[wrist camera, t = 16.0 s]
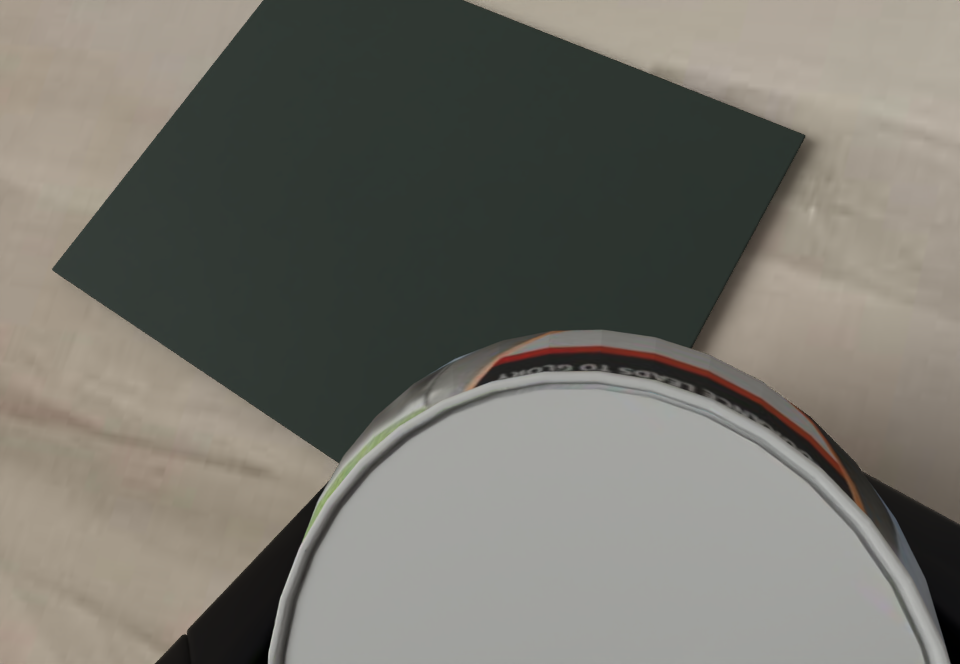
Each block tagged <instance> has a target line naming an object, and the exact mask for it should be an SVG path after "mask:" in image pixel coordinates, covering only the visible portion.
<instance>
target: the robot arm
mask: <svg viewBox="0 0 960 664" xmlns="http://www.w3.org/2000/svg"><path fill="white" fill-rule="evenodd" d="M863 474H864V475H865V476H866V478H867V479H868V481H869V482H870V483H871V485H872V486H873V488H874V489H875V490H876V492H877V493H878V494H879V496H880V497H881V499H882V500H883V501H884V503H885V504H886V506H887V507H888V508H889V510H890V511H891V513H892V514H893V515H894V517H895V518H896V520H897V522H898V524H899V526H900V528H901V530H902V532H903V534H904V536H905V538H906V541H907V543H908V545H909V547H910V549H911V551H912V553H913V555H914V557H915V559H916V561H917V563H918V565H919V567H920V569H921V571H922V573H923V575H924V577H925V579H926V582H927V585H928V588H929V592H930V595H931V598H932V602H933V605H934V608H935V612H936V615H937V618H938V622H939V625H940V629H941V632H942V635H943V639H944V642H945V645H946V649H947V653H948V656H949V660H950V663H951V664H960V525H959V524H958V523H956V522H954V521H952V520H950V519H948V518H947V517H945V516H943V515H941V514H939V513H937V512H936V511H934V510H932V509H930V508H928V507H926V506H925V505H923V504H921V503H919V502H917V501H915V500H914V499H912V498H910V497H908V496H906V495H904V494H903V493H901V492H899V491H897V490H895V489H893V488H892V487H890V486H888V485H886V484H884V483H882V482H881V481H879V480H877V479H875V478H873V477H871V476H870V475H868V474H866V473H864V472H863ZM328 482H329V481H328ZM327 484H328V483H327ZM327 484H326V485H325V486H324V487H323V488H322V489H321V490H320V491H319V492H318V493H317V494H316V495H315V496H314V497H313V498H312V499H311V500H310V501H309V502H308V504H307V505H306V506H305V507H304V508H303V509H302V510H301V511H300V512H299V513H298V514H297V515H296V516H295V517H294V518H293V519H292V520H291V521H290V522H289V524H288V525H287V526H286V527H285V528H284V529H283V530H282V531H281V532H280V533H279V534H278V535H277V536H276V537H275V538H274V539H273V540H272V541H271V542H270V544H269V545H268V546H267V547H266V548H265V549H264V550H263V551H262V552H261V553H260V554H259V555H258V556H257V557H256V558H255V559H254V560H253V561H252V562H251V564H250V565H249V566H248V567H247V568H246V569H245V570H244V571H243V572H242V573H241V574H240V575H239V576H238V577H237V578H236V579H235V580H234V581H233V582H232V584H231V585H230V586H229V587H228V588H227V589H226V590H225V591H224V592H223V593H222V594H221V595H220V596H219V597H218V598H217V599H216V600H215V601H214V602H213V604H212V605H211V606H210V607H209V608H208V609H207V610H206V611H205V612H204V613H203V614H202V615H201V616H200V617H199V618H198V619H197V620H196V621H195V622H194V624H193V625H192V626H191V627H190V628H189V629H188V630H187V635H186V634H184V635H182V636H181V637H180V638H179V639H178V640H177V641H176V642H175V643H174V644H173V645H172V646H171V647H170V649H169V650H168V651H167V652H166V653H165V654H164V655H163V656H162V657H161V658H160V659H159V660H158V661H157V662H156V663H155V664H268V653H269V648H270V644H271V639H272V634H273V630H274V625H275V620H276V616H277V611H278V606H279V602H280V597H281V595H282V592H283V590H284V587H285V584H286V582H287V579H288V576H289V574H290V571H291V569H292V566H293V563H294V561H295V558H296V555H297V553H298V550H299V548H300V546H301V544H302V541H303V539H304V536H305V533H306V531H307V528H308V526H309V523H310V520H311V518H312V515H313V512H314V510H315V507H316V505H317V502H318V500H319V498H320V496H321V494H322V493H323V491H324V489H325V487H326V486H327Z"/></svg>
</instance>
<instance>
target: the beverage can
mask: <svg viewBox="0 0 960 664" xmlns="http://www.w3.org/2000/svg"><path fill="white" fill-rule="evenodd" d="M268 664H951V663H950V660H949V656H948V653H947V649H946V645H945V642H944V639H943V635H942V632H941V629H940V625H939V622H938V618H937V615H936V612H935V608H934V605H933V602H932V598H931V595H930V592H929V588H928V585H927V582H926V579H925V577H924V575H923V573H922V571H921V569H920V567H919V565H918V563H917V561H916V559H915V557H914V555H913V553H912V551H911V549H910V547H909V545H908V543H907V541H906V538H905V536H904V534H903V532H902V530H901V528H900V526H899V524H898V522H897V520H896V518H895V517H894V515H893V514H892V513H891V511H890V510H889V508H888V507H887V506H886V504H885V503H884V501H883V500H882V499H881V497H880V496H879V494H878V493H877V492H876V490H875V489H874V488H873V486H872V485H871V483H870V482H869V481H868V479H867V478H866V476H865V475H864V474H863V472H862V471H861V469H860V468H859V467H858V465H857V464H856V462H855V461H854V460H853V459H852V458H851V457H850V456H849V455H848V454H847V453H846V452H845V451H844V450H843V449H842V448H841V447H840V446H839V445H838V444H837V443H836V442H835V441H834V440H833V439H832V438H831V437H830V436H829V435H828V434H827V433H826V432H825V431H824V430H823V429H822V428H821V427H820V426H819V425H818V424H817V423H816V422H815V421H814V420H813V419H812V418H811V417H810V416H808V415H807V414H806V413H804V412H803V411H801V410H800V409H799V408H797V407H796V406H795V405H793V404H792V403H791V402H789V401H788V400H786V399H785V398H784V397H782V396H781V395H780V394H778V393H777V392H775V391H774V390H773V389H771V388H770V387H769V386H767V385H766V384H764V383H763V382H762V381H760V380H758V379H756V378H754V377H752V376H750V375H748V374H746V373H744V372H742V371H740V370H738V369H736V368H734V367H733V366H731V365H729V364H727V363H725V362H723V361H721V360H719V359H717V358H715V357H713V356H711V355H709V354H706V353H703V352H700V351H697V350H694V349H691V348H687V347H684V346H681V345H678V344H675V343H672V342H668V341H665V340H662V339H659V338H656V337H650V336H643V335H636V334H629V333H622V332H615V331H608V330H570V331H548V332H543V333H538V334H533V335H528V336H523V337H518V338H513V339H508V340H503V341H500V342H497V343H495V344H492V345H490V346H487V347H484V348H482V349H479V350H477V351H474V352H472V353H469V354H466V355H464V356H461V357H459V358H456V359H454V360H452V361H451V362H449V363H447V364H446V365H444V366H442V367H441V368H439V369H437V370H436V371H434V372H432V373H431V374H429V375H427V376H426V377H424V378H422V379H421V380H419V381H418V382H416V383H414V384H413V385H412V386H410V387H409V388H408V389H407V390H406V391H405V392H404V393H402V394H401V395H400V396H399V397H398V398H397V399H395V400H394V401H393V402H392V403H391V404H390V405H389V406H387V407H386V408H385V409H384V410H383V411H382V412H380V413H379V414H378V415H377V416H376V417H375V418H374V419H373V421H372V422H371V423H370V424H369V426H368V427H367V428H366V429H365V430H364V432H363V433H362V434H361V435H360V436H359V438H358V439H357V440H356V441H355V443H354V444H353V445H352V446H351V447H350V449H349V450H348V451H347V452H346V453H345V455H344V456H343V458H342V460H341V461H340V463H339V465H338V467H337V468H336V470H335V472H334V473H333V475H332V477H331V479H330V480H329V482H328V484H327V486H326V487H325V489H324V491H323V493H322V494H321V496H320V498H319V500H318V502H317V505H316V507H315V510H314V512H313V515H312V518H311V520H310V523H309V526H308V528H307V531H306V533H305V536H304V539H303V541H302V544H301V546H300V548H299V550H298V553H297V555H296V558H295V561H294V563H293V566H292V569H291V571H290V574H289V576H288V579H287V582H286V584H285V587H284V590H283V592H282V595H281V597H280V602H279V606H278V611H277V616H276V620H275V625H274V630H273V634H272V639H271V644H270V648H269V653H268Z"/></svg>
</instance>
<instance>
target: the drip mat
mask: <svg viewBox="0 0 960 664" xmlns="http://www.w3.org/2000/svg"><path fill="white" fill-rule="evenodd" d="M804 138H805V135H804V134H801V133H799V132H796V131H793V130H791V129H788V128H786V127H783V126H781V125H778V124H776V123H773V122H771V121H768V120H766V119H763V118H760V117H758V116H755V115H753V114H750V113H748V112H745V111H743V110H740V109H738V108H735V107H733V106H730V105H727V104H725V103H722V102H720V101H717V100H715V99H712V98H710V97H707V96H705V95H702V94H700V93H697V92H694V91H692V90H689V89H687V88H684V87H682V86H679V85H677V84H674V83H672V82H669V81H667V80H664V79H661V78H659V77H656V76H654V75H651V74H649V73H646V72H644V71H641V70H639V69H636V68H634V67H631V66H629V65H626V64H623V63H621V62H618V61H616V60H613V59H611V58H608V57H606V56H603V55H601V54H598V53H596V52H593V51H590V50H588V49H585V48H583V47H580V46H578V45H575V44H573V43H570V42H568V41H565V40H563V39H560V38H557V37H555V36H552V35H550V34H547V33H545V32H542V31H540V30H537V29H535V28H532V27H530V26H527V25H524V24H522V23H519V22H517V21H514V20H512V19H509V18H507V17H504V16H502V15H499V14H497V13H494V12H491V11H489V10H486V9H484V8H481V7H479V6H476V5H474V4H471V3H469V2H466V1H464V0H263V1H262V3H261V4H260V5H259V7H258V8H257V9H256V10H255V12H254V13H253V14H252V15H251V17H250V18H249V19H248V20H247V22H246V23H245V24H244V26H243V27H242V28H241V29H240V31H239V32H238V33H237V34H236V36H235V37H234V38H233V40H232V41H231V42H230V43H229V45H228V46H227V47H226V48H225V50H224V51H223V52H222V54H221V55H220V56H219V57H218V59H217V60H216V61H215V62H214V64H213V65H212V66H211V68H210V69H209V70H208V71H207V73H206V74H205V75H204V76H203V78H202V79H201V80H200V82H199V83H198V84H197V85H196V87H195V88H194V89H193V90H192V92H191V93H190V94H189V96H188V97H187V98H186V99H185V101H184V102H183V103H182V104H181V106H180V107H179V108H178V110H177V111H176V112H175V113H174V115H173V116H172V117H171V118H170V120H169V121H168V122H167V123H166V125H165V126H164V127H163V129H162V130H161V131H160V132H159V134H158V135H157V136H156V137H155V139H154V140H153V141H152V143H151V144H150V145H149V146H148V148H147V149H146V150H145V151H144V153H143V154H142V155H141V157H140V158H139V159H138V160H137V162H136V163H135V164H134V165H133V167H132V168H131V169H130V171H129V172H128V173H127V174H126V176H125V177H124V178H123V179H122V181H121V182H120V183H119V185H118V186H117V187H116V188H115V190H114V191H113V192H112V193H111V195H110V196H109V197H108V199H107V200H106V201H105V202H104V204H103V205H102V206H101V207H100V209H99V210H98V211H97V212H96V214H95V215H94V216H93V218H92V219H91V220H90V221H89V223H88V224H87V225H86V226H85V228H84V229H83V230H82V232H81V233H80V234H79V235H78V237H77V238H76V239H75V240H74V242H73V243H72V244H71V246H70V247H69V248H68V249H67V251H66V252H65V253H64V254H63V256H62V257H61V258H60V260H59V261H58V262H57V263H56V265H55V266H54V267H53V268H52V270H53V271H54V272H55V273H57V274H58V275H60V276H61V277H63V278H64V279H66V280H67V281H69V282H70V283H72V284H73V285H75V286H76V287H78V288H79V289H81V290H82V291H84V292H85V293H87V294H88V295H90V296H91V297H93V298H94V299H96V300H97V301H99V302H100V303H102V304H103V305H105V306H106V307H108V308H109V309H110V310H112V311H113V312H115V313H116V314H118V315H119V316H121V317H122V318H124V319H125V320H127V321H128V322H130V323H131V324H133V325H134V326H136V327H137V328H139V329H140V330H142V331H143V332H145V333H146V334H148V335H149V336H151V337H152V338H154V339H155V340H157V341H158V342H160V343H161V344H162V345H164V346H165V347H167V348H168V349H170V350H171V351H173V352H174V353H176V354H177V355H179V356H180V357H182V358H183V359H185V360H186V361H188V362H189V363H191V364H192V365H194V366H195V367H197V368H198V369H200V370H201V371H203V372H204V373H206V374H207V375H209V376H210V377H212V378H213V379H215V380H216V381H217V382H219V383H220V384H222V385H223V386H225V387H226V388H228V389H229V390H231V391H232V392H234V393H235V394H237V395H238V396H240V397H241V398H243V399H244V400H246V401H247V402H249V403H250V404H252V405H253V406H255V407H256V408H258V409H259V410H261V411H262V412H264V413H265V414H267V415H268V416H270V417H271V418H272V419H274V420H275V421H277V422H278V423H280V424H281V425H283V426H284V427H286V428H287V429H289V430H290V431H292V432H293V433H295V434H296V435H298V436H299V437H301V438H302V439H304V440H305V441H307V442H308V443H310V444H311V445H313V446H314V447H316V448H317V449H319V450H320V451H322V452H323V453H324V454H326V455H327V456H329V457H330V458H332V459H333V460H335V461H336V462H338V463H340V461H341V460H342V458H343V456H344V455H345V453H346V452H347V451H348V450H349V449H350V447H351V446H352V445H353V444H354V443H355V441H356V440H357V439H358V438H359V436H360V435H361V434H362V433H363V432H364V430H365V429H366V428H367V427H368V426H369V424H370V423H371V422H372V421H373V419H374V418H375V417H376V416H377V415H378V414H379V413H380V412H382V411H383V410H384V409H385V408H386V407H387V406H389V405H390V404H391V403H392V402H393V401H394V400H395V399H397V398H398V397H399V396H400V395H401V394H402V393H404V392H405V391H406V390H407V389H408V388H409V387H410V386H412V385H413V384H414V383H416V382H418V381H419V380H421V379H422V378H424V377H426V376H427V375H429V374H431V373H432V372H434V371H436V370H437V369H439V368H441V367H442V366H444V365H446V364H447V363H449V362H451V361H452V360H454V359H456V358H459V357H461V356H464V355H466V354H469V353H472V352H474V351H477V350H479V349H482V348H484V347H487V346H490V345H492V344H495V343H497V342H500V341H503V340H508V339H513V338H518V337H523V336H528V335H533V334H538V333H543V332H548V331H570V330H608V331H615V332H622V333H629V334H636V335H643V336H650V337H656V338H659V339H662V340H665V341H668V342H672V343H675V344H678V345H681V346H684V347H687V348H692V346H693V344H694V342H695V340H696V339H697V337H698V335H699V333H700V331H701V329H702V327H703V326H704V324H705V322H706V320H707V318H708V316H709V315H710V313H711V311H712V309H713V307H714V305H715V303H716V302H717V300H718V298H719V296H720V294H721V292H722V290H723V289H724V287H725V285H726V283H727V281H728V279H729V277H730V276H731V274H732V272H733V270H734V268H735V266H736V264H737V263H738V261H739V259H740V257H741V255H742V253H743V252H744V250H745V248H746V246H747V244H748V242H749V240H750V239H751V237H752V235H753V233H754V231H755V229H756V227H757V226H758V224H759V222H760V220H761V218H762V216H763V214H764V213H765V211H766V209H767V207H768V205H769V203H770V201H771V200H772V198H773V196H774V194H775V192H776V190H777V189H778V187H779V185H780V183H781V181H782V179H783V177H784V176H785V174H786V172H787V170H788V168H789V166H790V164H791V163H792V161H793V159H794V157H795V155H796V153H797V151H798V150H799V148H800V146H801V144H802V142H803V140H804Z"/></svg>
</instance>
